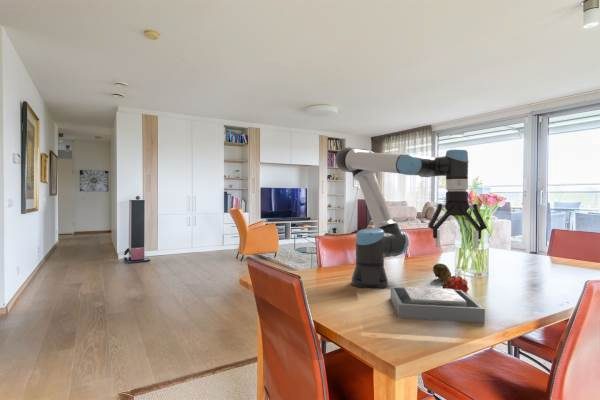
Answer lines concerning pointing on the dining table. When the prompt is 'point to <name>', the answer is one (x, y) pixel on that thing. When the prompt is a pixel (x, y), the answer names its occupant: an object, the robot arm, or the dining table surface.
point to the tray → (438, 309)
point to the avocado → (441, 271)
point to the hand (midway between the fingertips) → (456, 247)
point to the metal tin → (432, 297)
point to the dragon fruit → (455, 283)
